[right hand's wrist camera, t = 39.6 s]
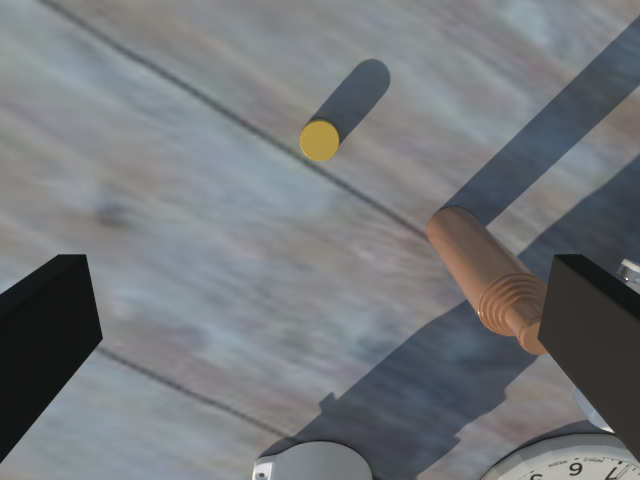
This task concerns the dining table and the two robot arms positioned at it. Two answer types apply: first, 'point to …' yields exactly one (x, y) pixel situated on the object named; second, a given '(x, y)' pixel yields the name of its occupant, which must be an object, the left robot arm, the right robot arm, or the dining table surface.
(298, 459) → the left robot arm
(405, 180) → the dining table surface
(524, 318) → the bottle
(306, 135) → the cap
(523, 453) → the wall clock
